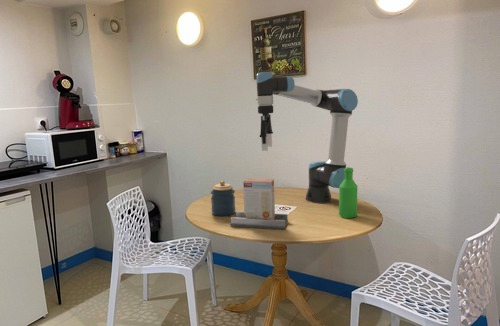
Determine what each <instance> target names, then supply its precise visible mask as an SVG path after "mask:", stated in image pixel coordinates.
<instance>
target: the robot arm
mask: <svg viewBox="0 0 500 326" xmlns="http://www.w3.org/2000/svg"><path fill="white" fill-rule="evenodd" d="M255 83H256V91H257V93H256V94H257V98H256V101H257V114H259V115H260V114H261V116H260V135H259V138H260V139H261V151H263V152H264V151H265V152H266V151H268V149H269V148H272V147H273V139H272V138H273V136H272V134H274V131H273V129H272V127H273V126H272V120H271V114H273V113H274V105H273V104H274V95H276V96H279V97H282V98H287V99H291V100H295V101H298V102H299V101H300V102H304V103H307V104H310V105H312V106H313V107H316V108H320V109H323V110H326V111H329V114H330V115H331V117H332V118H331V119H332V120H331V128H330V139H329V148H328V158H327V160H325V161H320V160H319V161H312V162H309V164H308V188H307V191H306V194H305V200H306V201H307V202H311V203H318V204H320V203H322V204H323V203H329V202H331V201H332V194H331V190H330V187H331V188H334V189H339V186H340V185H341V183H342V182H343V180H344V179H345V171H344V170H345V168H347V163H346V162H345V156H346V155H345V153H346V144H347V136H348V126H349V118H350V117H351V116H352V114H353V111H354V110H355V109H357V107H358V104H359V101H358V100H359V99H358V96H357V93H356V92H355V91H354V90H353V89H350V88H339V89H337V88H336V89H329V90H328V89H327V90H324V89H311V88H307V87H303V86H299V85H296V84H295V80H294V78H293V76H288V75H286V76H273V73H272V72H271V71H264V72H263V71H262V72H258V73H257V74H256V82H255Z"/></svg>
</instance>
